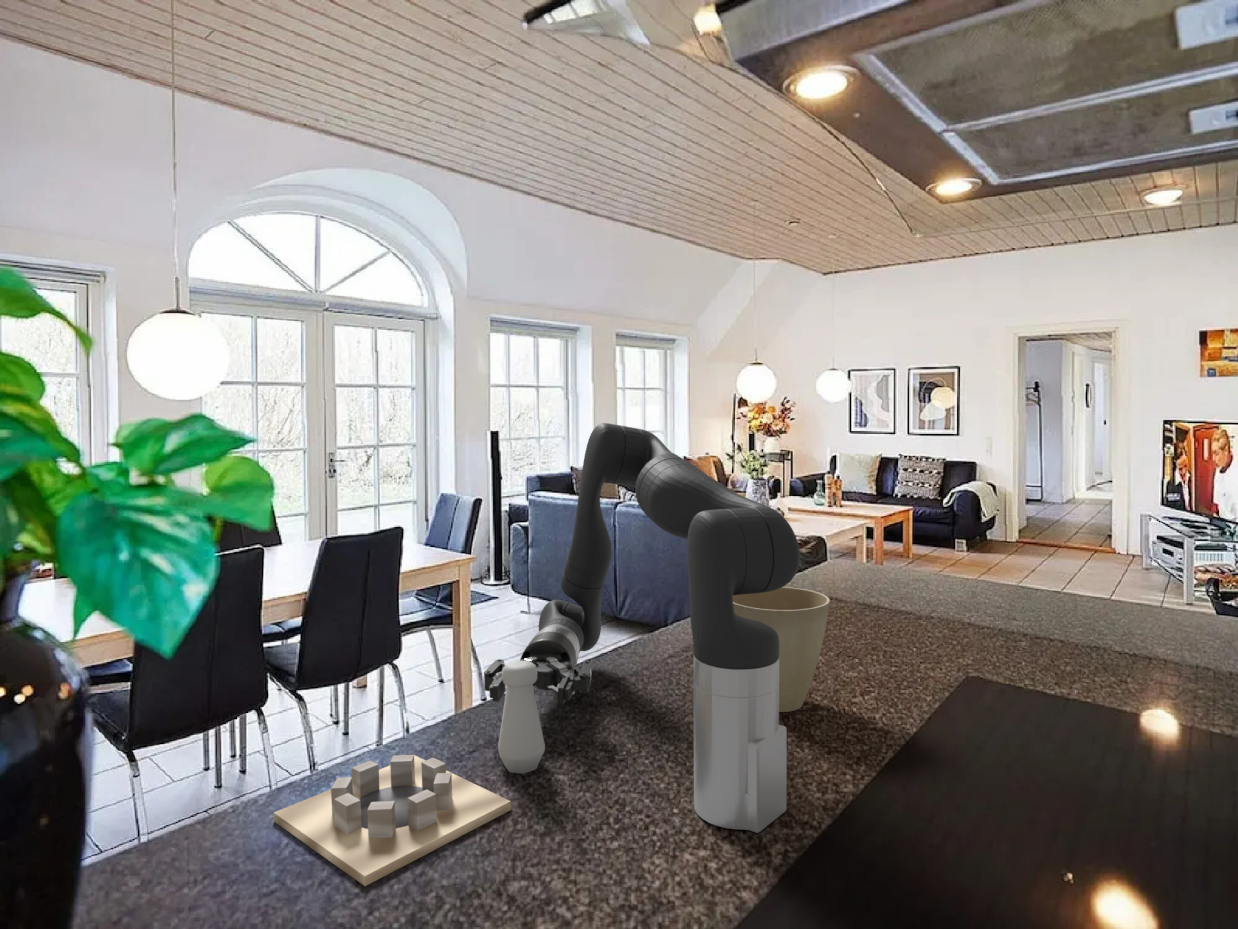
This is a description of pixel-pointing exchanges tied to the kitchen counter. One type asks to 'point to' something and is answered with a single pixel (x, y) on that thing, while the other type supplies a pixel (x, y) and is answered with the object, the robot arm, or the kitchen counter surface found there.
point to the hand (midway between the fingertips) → (527, 695)
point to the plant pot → (790, 635)
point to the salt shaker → (520, 719)
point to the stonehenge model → (390, 815)
